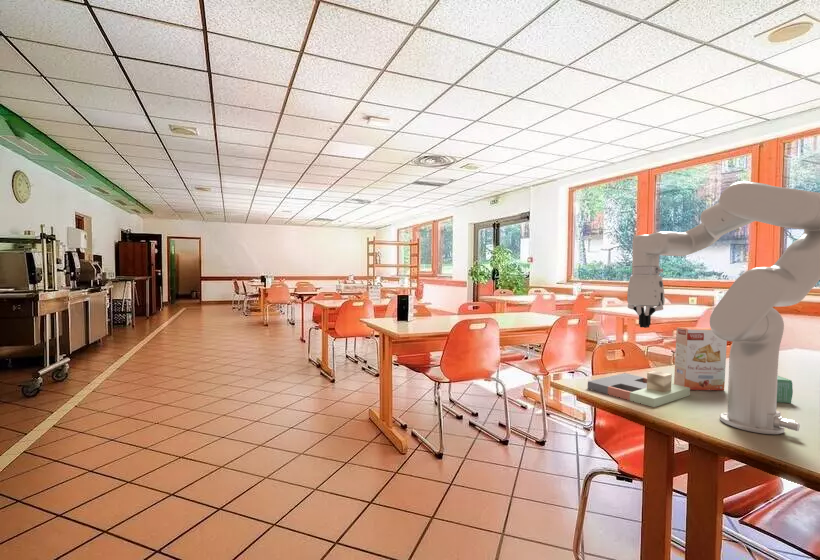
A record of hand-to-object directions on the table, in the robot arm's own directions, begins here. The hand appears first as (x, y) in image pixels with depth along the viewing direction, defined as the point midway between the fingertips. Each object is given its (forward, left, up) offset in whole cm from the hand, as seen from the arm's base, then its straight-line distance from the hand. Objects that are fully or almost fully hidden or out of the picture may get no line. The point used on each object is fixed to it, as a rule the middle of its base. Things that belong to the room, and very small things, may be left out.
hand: (644, 327), depth 131 cm
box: (-23, -26, -22) cm, 41 cm away
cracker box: (-8, -21, -22) cm, 31 cm away
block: (-6, +2, -19) cm, 20 cm away
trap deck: (0, +3, -21) cm, 21 cm away
